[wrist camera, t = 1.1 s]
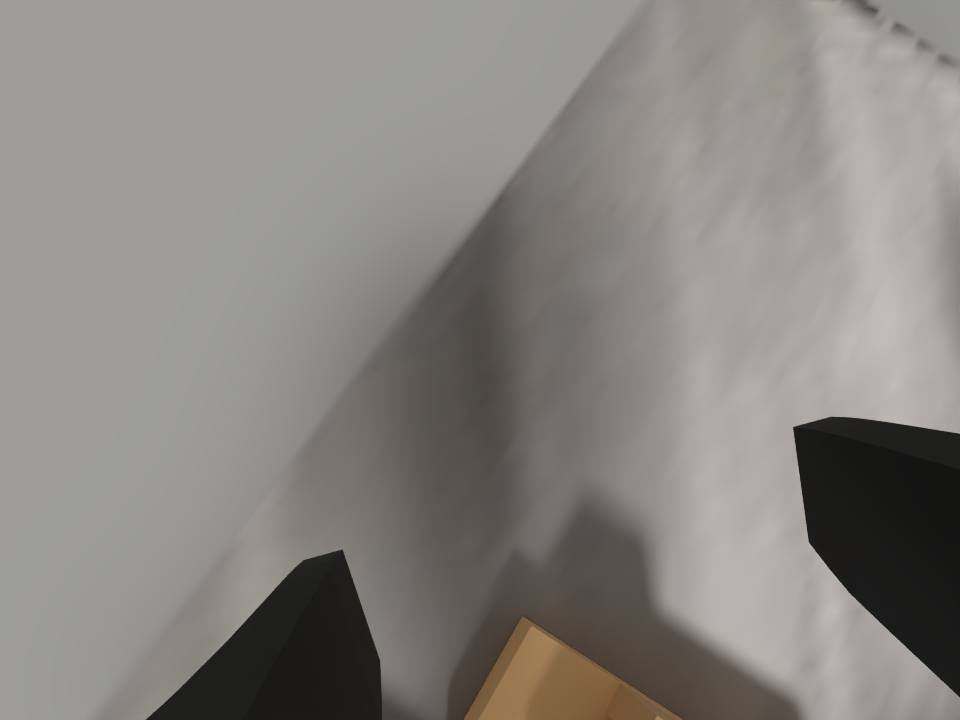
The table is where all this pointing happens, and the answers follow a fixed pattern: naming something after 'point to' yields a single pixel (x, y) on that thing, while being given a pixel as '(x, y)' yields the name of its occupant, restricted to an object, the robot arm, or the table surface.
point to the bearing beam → (556, 685)
